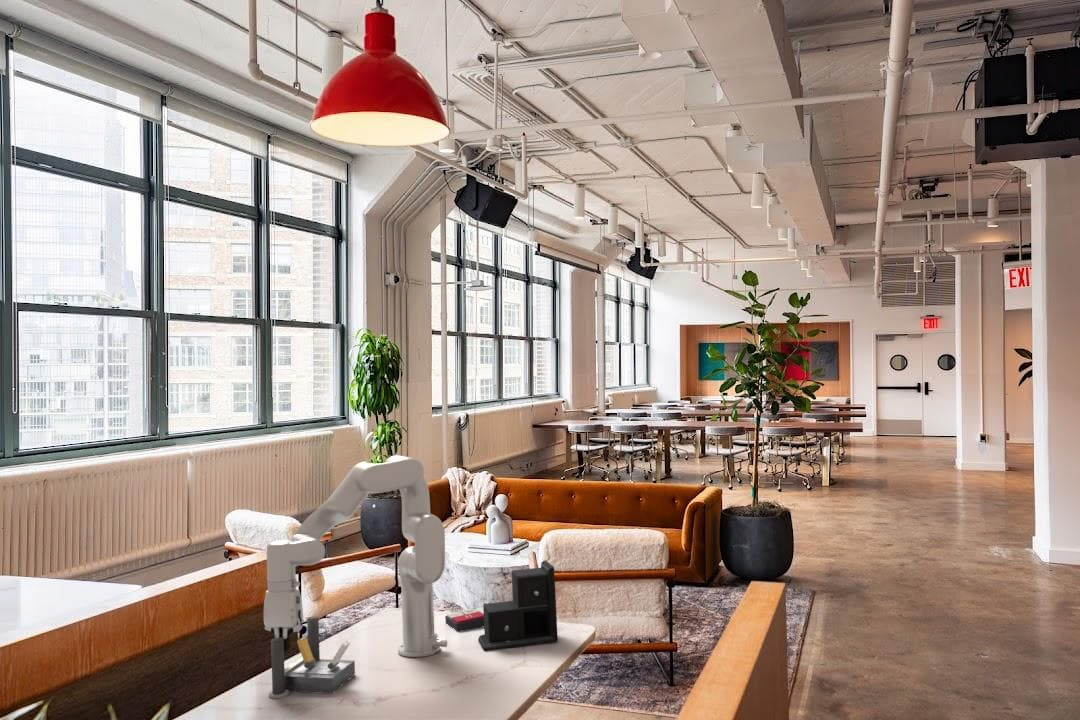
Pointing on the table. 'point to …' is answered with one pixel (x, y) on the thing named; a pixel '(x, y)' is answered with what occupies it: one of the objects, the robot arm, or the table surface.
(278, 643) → the post near
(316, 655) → the post far
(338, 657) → the paddle white
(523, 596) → the black drawer organizer
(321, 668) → the breaker panel
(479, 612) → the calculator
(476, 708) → the table surface
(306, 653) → the paddle amber
